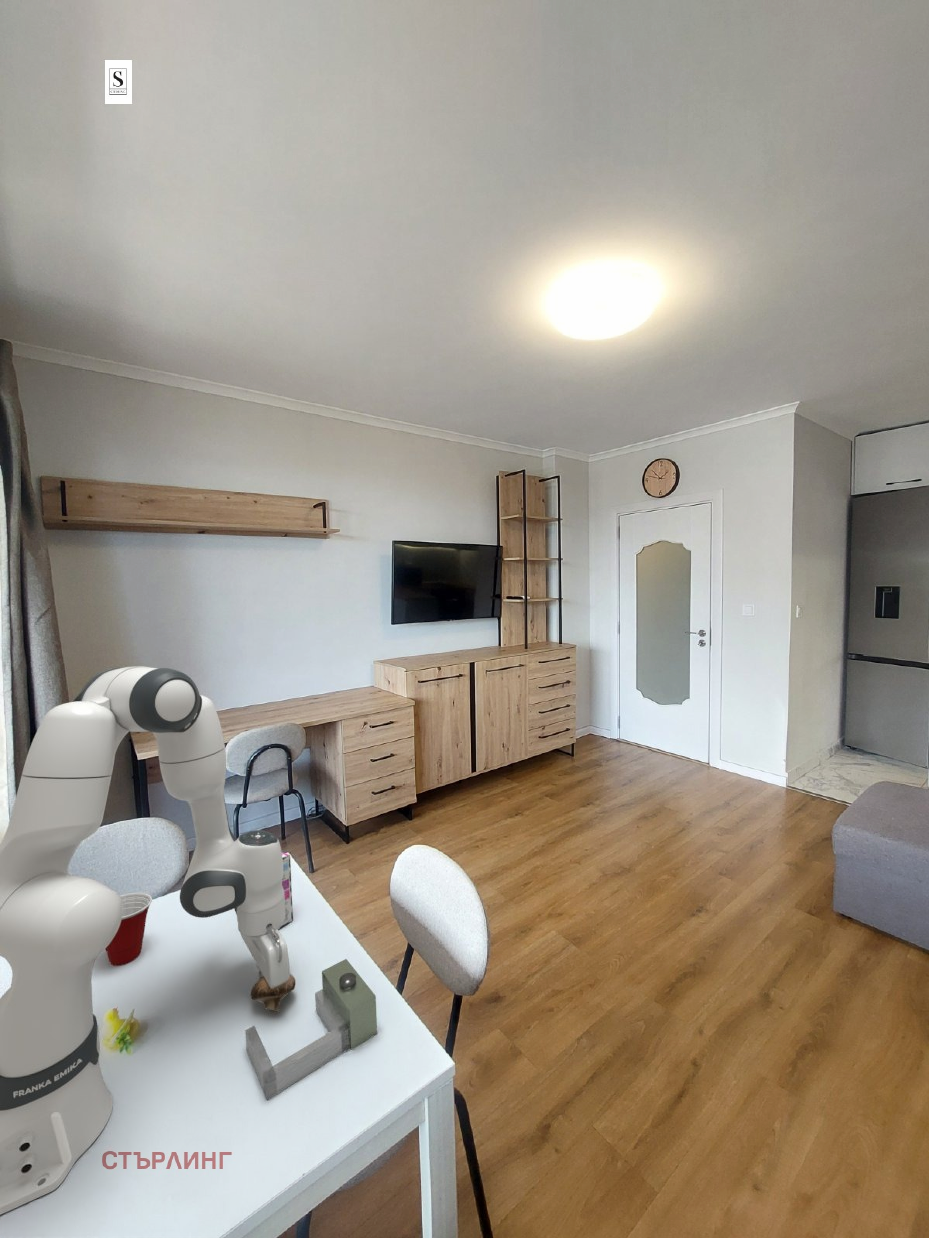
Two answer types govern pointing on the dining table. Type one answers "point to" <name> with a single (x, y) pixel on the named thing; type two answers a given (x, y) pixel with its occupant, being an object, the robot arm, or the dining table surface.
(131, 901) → the plastic cup
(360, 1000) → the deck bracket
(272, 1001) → the mushroom
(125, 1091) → the dining table surface
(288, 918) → the candy bar box
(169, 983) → the dining table surface
